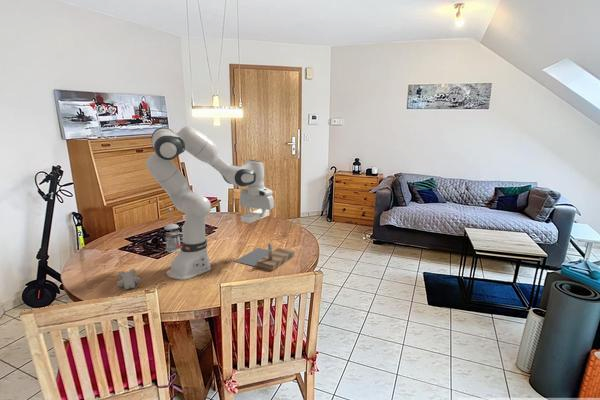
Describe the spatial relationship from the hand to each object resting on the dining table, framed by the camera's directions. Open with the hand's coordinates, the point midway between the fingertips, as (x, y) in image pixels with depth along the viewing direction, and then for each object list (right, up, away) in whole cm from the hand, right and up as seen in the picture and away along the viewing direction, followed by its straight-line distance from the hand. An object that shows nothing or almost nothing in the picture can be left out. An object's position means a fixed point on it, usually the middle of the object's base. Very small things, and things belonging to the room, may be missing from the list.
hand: (256, 215), depth 184 cm
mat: (-1, -23, +5) cm, 24 cm away
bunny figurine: (-56, -31, -25) cm, 69 cm away
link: (0, -1, -1) cm, 1 cm away
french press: (-50, -21, +16) cm, 57 cm away
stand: (+11, -24, -1) cm, 27 cm away
